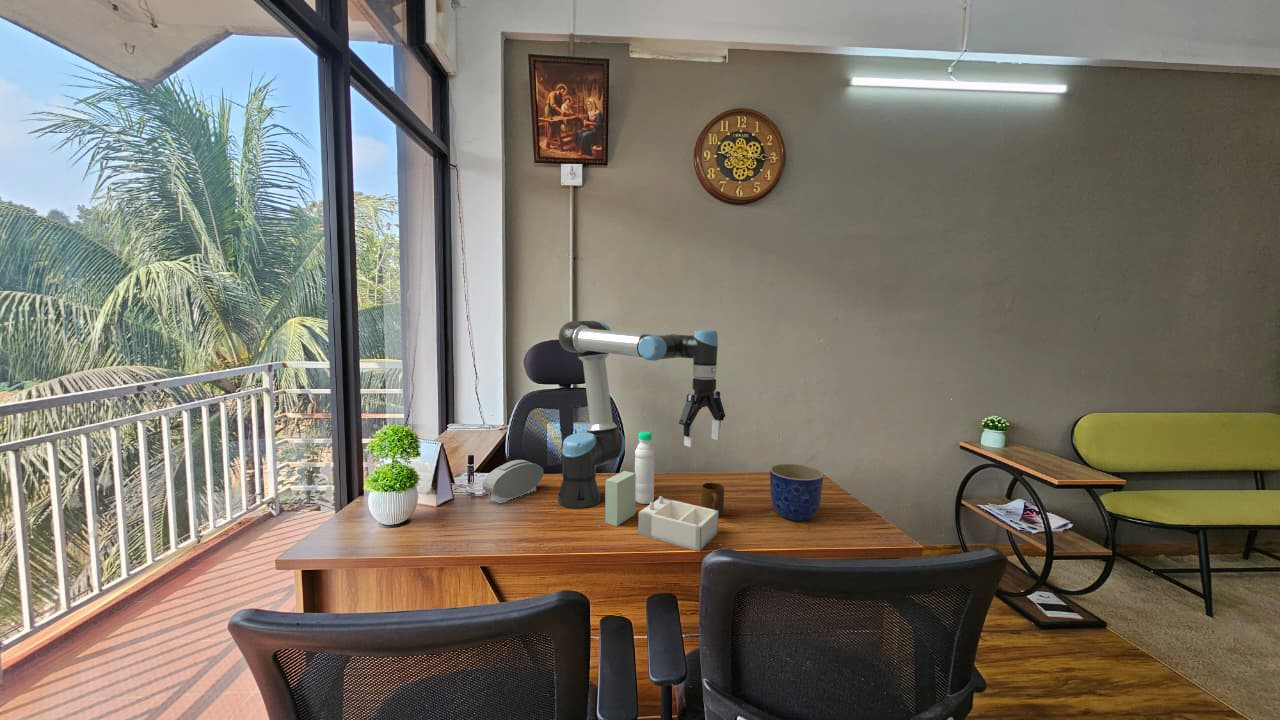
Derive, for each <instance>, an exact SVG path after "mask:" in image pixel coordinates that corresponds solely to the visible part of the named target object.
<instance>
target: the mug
mask: <svg viewBox="0 0 1280 720" xmlns="http://www.w3.org/2000/svg"><path fill="white" fill-rule="evenodd" d="M700 490H701V492H700V494H701V495H700V507H704V508H709V509H713V510H718V518H719V517H722V516H723V515H724V508H725V506H724V504H725V487H724V485H723V484H720V483H717V482H705V483H702V485H701V489H700Z"/></svg>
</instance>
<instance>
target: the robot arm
mask: <svg viewBox="0 0 1280 720" xmlns="http://www.w3.org/2000/svg"><path fill="white" fill-rule="evenodd" d="M718 335H719V334H718V331H716V330H713V329H695V331H694V334H693V335H687V334H676V333H670V334H669V333H668V334H662V335H656V334H646V333H645V334H644V333H636V332H625V331H615V330H611V328H610V326H609V325H608V324H606V323H605V322H603V321H598V320H571V321H568V322H566V323H565V324H563V326H561V328H560V330H559V332H558V341H559V344H560V346H561V348H562V349H564V350H565V351H566V352H570V353H574V354H575V353H577V358H578V359H579V360H580V361H581V362H582V364H583V374H584V383H585V390H586V391H585V392H586V399H587V401H586V402H587V409H588V410H587V411H588V417H589V418H588V419H589V426H588V427H587V428H586V432H579V433H577V432H576V433H573V434H570V435H568V436H566V437H565V439H564V440H563V442H562V449H561V453H562V482H561V484H560V487H559V491H558V494H557V502H558V504H559V505H560V506H563V507H565V508H569V509H570V508H571V509H585V508H591V507H593V506H596V505H597V504H599V503H600V502H601V492H600V489H599V486H598V482H597V480H596V479H597V478H596V471H597V467H600V466H602V465H605V464H608V463H612V462H614V461H616V460H618V459H619V458H621V457H622V455H623V454H624V452H625V449H626V439H625V437H624V434H622V432H621V431H620V430H618V425H617V424H616V423H615V422H614V420H613V413H612V406H611V397H610V388H609V381H608V380H609V377H608V372H607V371H608V370H607V362H606V359H607V358H608V356H609V355H610V354H613V355H620V356H629V357H636V358H642V359H644V360H645V361H646V360H647V361H653V362H654V361H655V362H656V361H659V360H667V359H677V358H679V359H680V358H682V359H692V360H693V363H692V364H693V365H692V367H693V368H692V377H693V378H692V390H693V391H694V394H691V393H690V394H689V393H687V395H686V400H685V401H686V402H685V403H684V407H683V410H682V413H681V415H680V417H679V421H678V423H679V425H681V426H683V436H684V438H683V446H686V447H689V448H692V447H693V432H694V431H693V429H694V426H693V425H692V424H693V422H695V421H694V420H695V419H696V417H697V415H698V413H699V412H700V410H701V409H702V408H706V407H707V408H708V411H709V412H710V414H711V415H712V417H713V419H712V420H711V440H715V441H720V431H721V421H724V418H725V417H726V413H725V409H724V406H723V403H722V399H721V392H720V391H718V390H717V380H716V377H717V367H718V366H717V365H718V347H719V343H718V341H719V339H718Z"/></svg>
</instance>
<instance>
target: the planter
mask: <svg viewBox="0 0 1280 720" xmlns="http://www.w3.org/2000/svg"><path fill="white" fill-rule="evenodd" d="M824 476H825V475H824V472H823V471H821V470H820V469H818V468H816V467H813V466H809V465H804V464H800V463H799V464H798V463H778V464H774V465H772V466H770V468H769V485H770V486H769V487H770V488H769V489H770V502H771V505H772V508H773V509H774V511H775V513H777V514H778V515H779V516H780V517H782V518H784V519H786V520H790V521H795V522H796V521H798V522H800V521H801V522H803V521H808V520H811V519H813V517H815V516H816V514H818V511H819V509H820V506H821V498H822V491H823V484H824Z"/></svg>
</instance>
